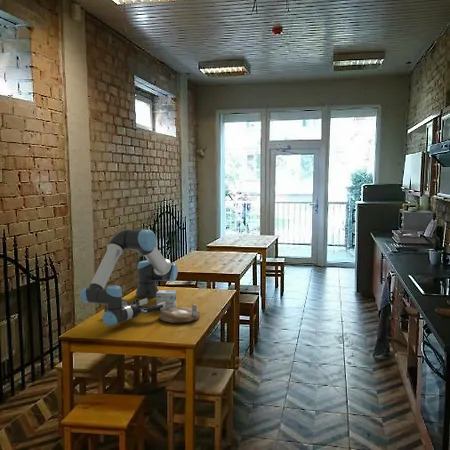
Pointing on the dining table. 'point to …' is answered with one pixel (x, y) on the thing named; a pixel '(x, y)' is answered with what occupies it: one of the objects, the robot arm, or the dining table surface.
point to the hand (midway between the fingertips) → (155, 302)
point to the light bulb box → (166, 298)
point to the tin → (122, 304)
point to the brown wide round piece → (180, 314)
